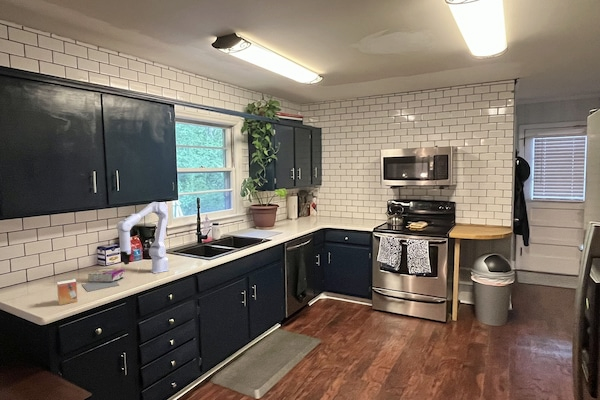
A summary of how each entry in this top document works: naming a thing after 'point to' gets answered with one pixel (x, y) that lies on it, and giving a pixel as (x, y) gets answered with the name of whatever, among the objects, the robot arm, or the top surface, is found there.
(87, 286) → the mat
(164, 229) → the robot arm
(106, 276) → the candy bar box
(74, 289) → the small box
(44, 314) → the top surface
